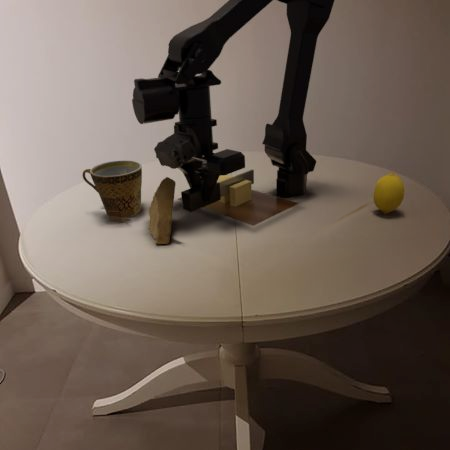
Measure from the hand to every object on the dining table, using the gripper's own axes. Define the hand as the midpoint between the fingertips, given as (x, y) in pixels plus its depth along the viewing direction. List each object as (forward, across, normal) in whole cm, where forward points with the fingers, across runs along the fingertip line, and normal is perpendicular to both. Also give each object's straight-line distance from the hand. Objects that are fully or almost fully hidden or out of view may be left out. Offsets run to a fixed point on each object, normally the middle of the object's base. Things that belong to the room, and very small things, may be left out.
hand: (201, 199), depth 91 cm
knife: (+1, 0, +5) cm, 5 cm away
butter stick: (+3, -5, +9) cm, 11 cm away
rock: (+4, -2, -10) cm, 11 cm away
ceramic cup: (+4, -16, -10) cm, 19 cm away
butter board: (+4, 0, +9) cm, 10 cm away
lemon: (+4, +26, +24) cm, 36 cm away
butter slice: (+3, +2, +9) cm, 10 cm away
